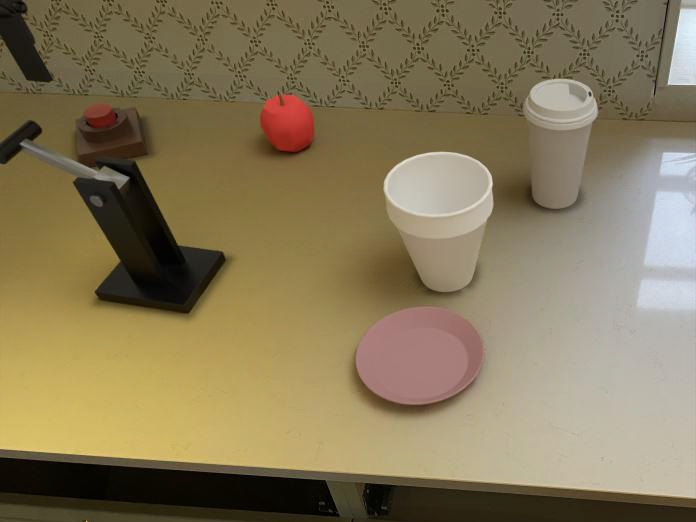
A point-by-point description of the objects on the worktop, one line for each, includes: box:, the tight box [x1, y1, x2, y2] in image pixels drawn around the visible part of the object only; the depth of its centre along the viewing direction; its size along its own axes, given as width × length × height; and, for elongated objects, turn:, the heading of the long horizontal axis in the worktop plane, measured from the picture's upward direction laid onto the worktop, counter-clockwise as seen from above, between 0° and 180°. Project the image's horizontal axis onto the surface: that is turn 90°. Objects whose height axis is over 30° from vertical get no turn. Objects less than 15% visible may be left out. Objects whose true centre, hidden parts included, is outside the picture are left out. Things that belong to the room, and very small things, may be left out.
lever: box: [0, 119, 130, 199], centre depth 70 cm, size 12×6×2 cm, turn 78°
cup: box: [383, 151, 494, 293], centre depth 78 cm, size 12×12×14 cm
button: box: [83, 103, 117, 127], centre depth 98 cm, size 4×4×2 cm
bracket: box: [72, 156, 227, 314], centre depth 76 cm, size 12×10×16 cm
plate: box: [355, 306, 486, 406], centre depth 73 cm, size 14×14×2 cm
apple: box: [259, 94, 315, 153], centre depth 98 cm, size 8×8×8 cm
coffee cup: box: [522, 78, 599, 210], centre depth 87 cm, size 10×10×15 cm
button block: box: [74, 106, 149, 168], centre depth 100 cm, size 11×9×4 cm
